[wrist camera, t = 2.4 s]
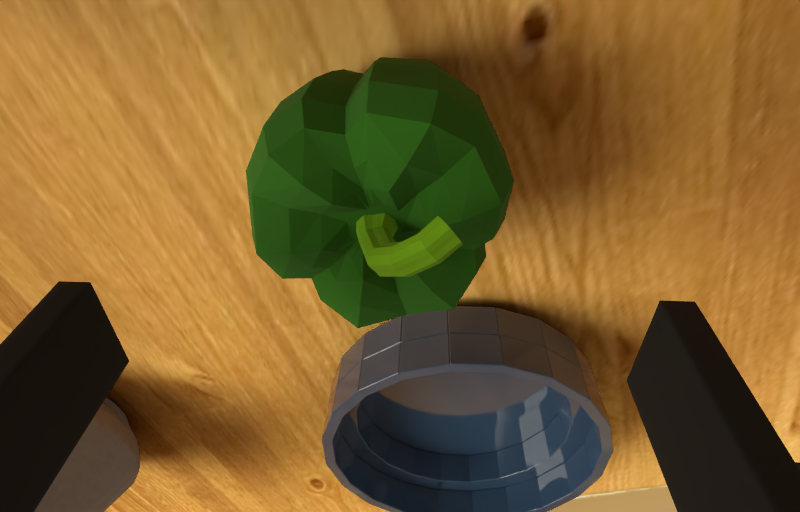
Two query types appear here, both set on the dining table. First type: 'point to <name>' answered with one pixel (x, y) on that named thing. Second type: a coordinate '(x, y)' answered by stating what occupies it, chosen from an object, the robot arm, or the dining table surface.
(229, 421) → the dining table surface
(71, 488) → the coffee pot
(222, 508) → the dining table surface
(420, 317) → the bowl
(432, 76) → the bell pepper
